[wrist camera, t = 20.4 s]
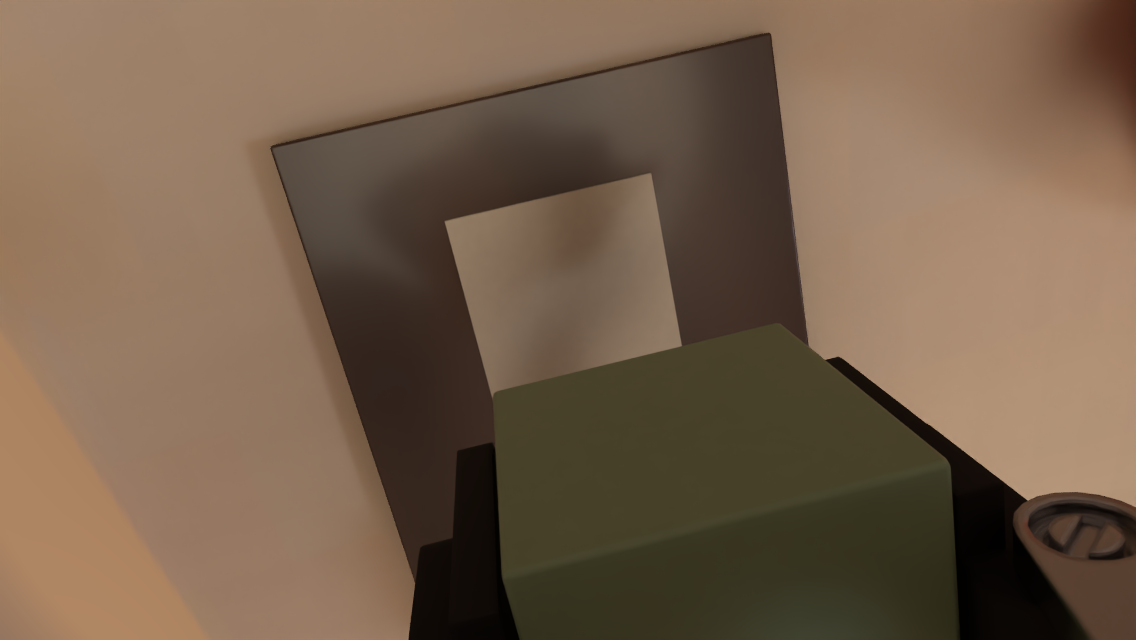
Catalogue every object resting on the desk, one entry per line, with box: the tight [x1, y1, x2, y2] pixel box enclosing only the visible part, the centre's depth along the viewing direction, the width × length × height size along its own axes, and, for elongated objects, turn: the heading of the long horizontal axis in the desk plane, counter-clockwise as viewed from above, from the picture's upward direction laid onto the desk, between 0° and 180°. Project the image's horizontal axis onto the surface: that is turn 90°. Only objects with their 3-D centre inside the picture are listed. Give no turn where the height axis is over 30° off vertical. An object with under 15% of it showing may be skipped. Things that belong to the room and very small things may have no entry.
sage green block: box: [493, 323, 960, 640], centre depth 10 cm, size 4×4×4 cm
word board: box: [270, 33, 809, 582], centre depth 24 cm, size 14×22×1 cm, turn 12°
